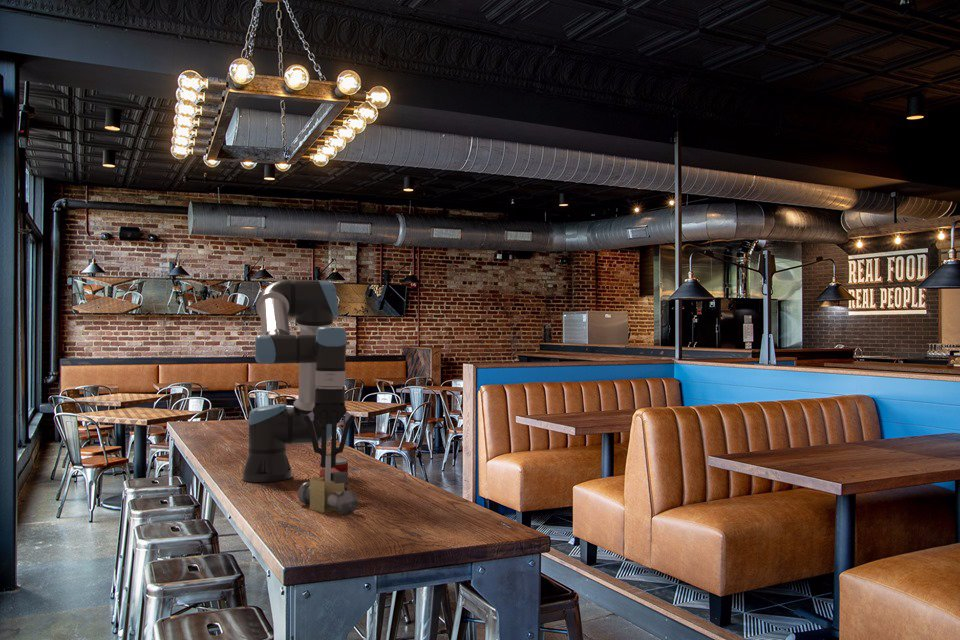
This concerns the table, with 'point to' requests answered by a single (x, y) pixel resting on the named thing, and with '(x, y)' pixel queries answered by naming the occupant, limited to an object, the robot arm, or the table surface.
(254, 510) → the table surface
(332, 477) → the lever
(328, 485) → the valve pipe
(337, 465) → the canned food
